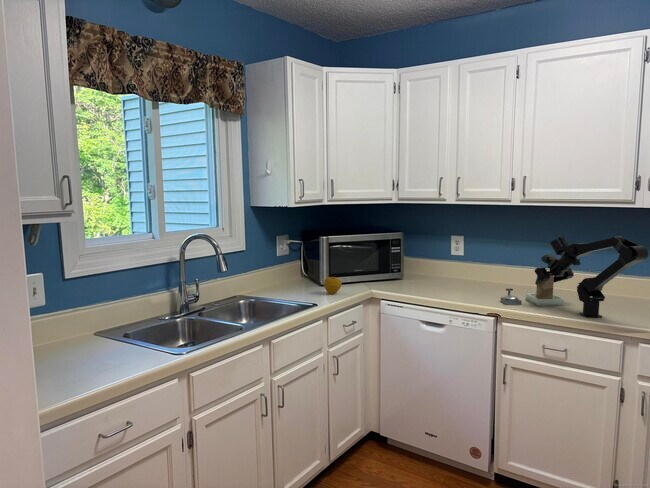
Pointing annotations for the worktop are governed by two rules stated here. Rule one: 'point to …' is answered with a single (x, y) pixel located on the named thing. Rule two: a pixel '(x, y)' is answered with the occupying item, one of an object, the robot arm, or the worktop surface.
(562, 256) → the robot arm
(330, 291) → the apple
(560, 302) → the tray
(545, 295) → the block
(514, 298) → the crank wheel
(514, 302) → the crank base
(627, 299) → the worktop surface
